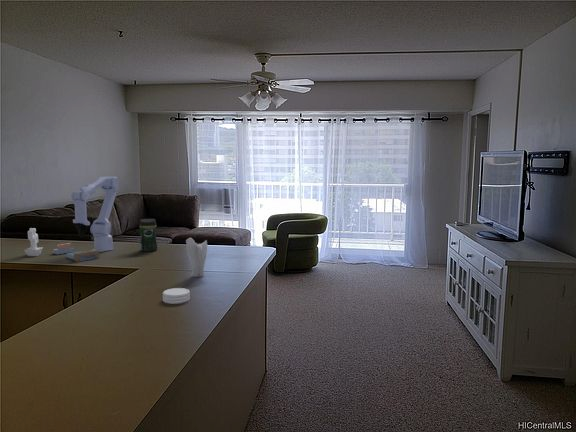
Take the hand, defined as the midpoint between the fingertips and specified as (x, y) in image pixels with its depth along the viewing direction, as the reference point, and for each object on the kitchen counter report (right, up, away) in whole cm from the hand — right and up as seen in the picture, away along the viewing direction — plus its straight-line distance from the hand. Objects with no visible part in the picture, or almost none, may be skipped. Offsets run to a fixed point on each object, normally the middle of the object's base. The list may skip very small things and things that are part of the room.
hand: (81, 237), depth 238 cm
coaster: (+70, -21, -71) cm, 102 cm away
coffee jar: (+31, -9, +18) cm, 37 cm away
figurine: (-27, -10, +2) cm, 29 cm away
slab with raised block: (-14, -9, +9) cm, 19 cm away
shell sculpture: (+71, -16, -37) cm, 82 cm away
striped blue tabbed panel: (+1, -11, -3) cm, 12 cm away
